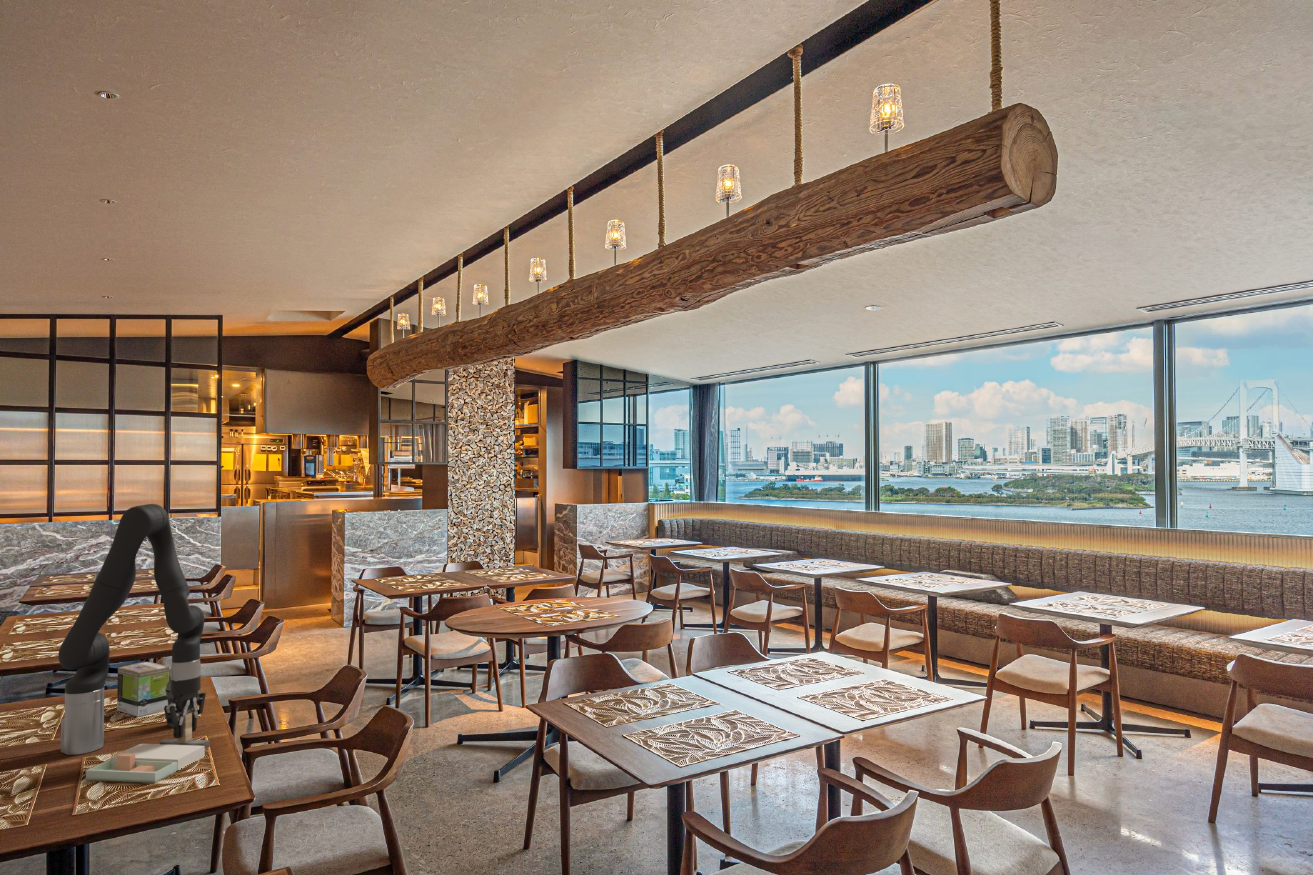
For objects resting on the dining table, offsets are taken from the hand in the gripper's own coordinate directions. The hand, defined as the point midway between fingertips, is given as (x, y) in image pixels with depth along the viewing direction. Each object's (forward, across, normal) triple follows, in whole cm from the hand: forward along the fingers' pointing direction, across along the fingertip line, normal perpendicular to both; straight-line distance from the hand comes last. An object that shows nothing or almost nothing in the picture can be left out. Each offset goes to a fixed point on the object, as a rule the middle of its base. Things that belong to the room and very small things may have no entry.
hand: (185, 734), depth 219 cm
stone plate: (+4, +11, +1) cm, 12 cm away
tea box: (+4, -31, -41) cm, 52 cm away
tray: (+4, +20, +1) cm, 20 cm away
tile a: (+1, +17, -3) cm, 17 cm away
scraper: (+4, 0, 0) cm, 4 cm away
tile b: (+2, +21, +4) cm, 22 cm away
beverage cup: (+4, -18, -17) cm, 25 cm away
